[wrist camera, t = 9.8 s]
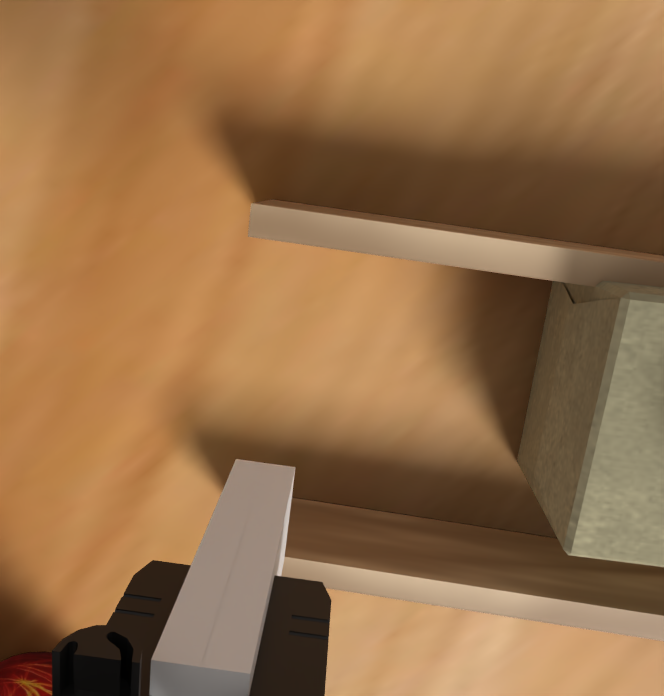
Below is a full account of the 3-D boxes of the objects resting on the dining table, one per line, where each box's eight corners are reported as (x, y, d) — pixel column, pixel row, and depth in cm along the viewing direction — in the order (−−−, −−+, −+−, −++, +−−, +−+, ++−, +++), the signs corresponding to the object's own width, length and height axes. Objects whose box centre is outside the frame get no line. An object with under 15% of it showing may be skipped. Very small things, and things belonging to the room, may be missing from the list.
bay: (272, 199, 27) (236, 205, 20) (1047, 310, 27) (1303, 359, 19) (238, 511, 32) (198, 611, 24) (910, 615, 31) (1079, 750, 23)
